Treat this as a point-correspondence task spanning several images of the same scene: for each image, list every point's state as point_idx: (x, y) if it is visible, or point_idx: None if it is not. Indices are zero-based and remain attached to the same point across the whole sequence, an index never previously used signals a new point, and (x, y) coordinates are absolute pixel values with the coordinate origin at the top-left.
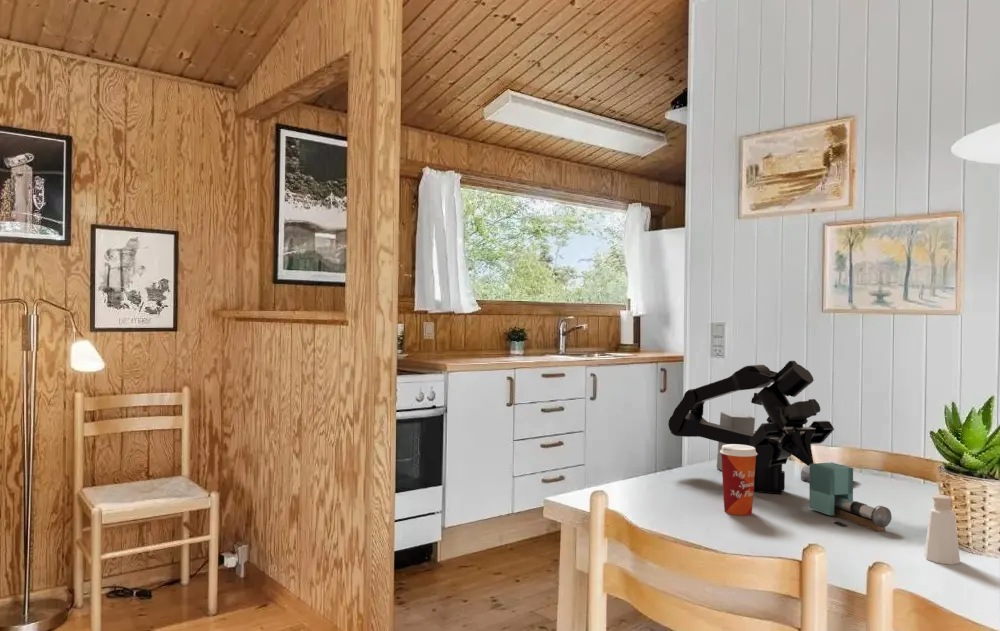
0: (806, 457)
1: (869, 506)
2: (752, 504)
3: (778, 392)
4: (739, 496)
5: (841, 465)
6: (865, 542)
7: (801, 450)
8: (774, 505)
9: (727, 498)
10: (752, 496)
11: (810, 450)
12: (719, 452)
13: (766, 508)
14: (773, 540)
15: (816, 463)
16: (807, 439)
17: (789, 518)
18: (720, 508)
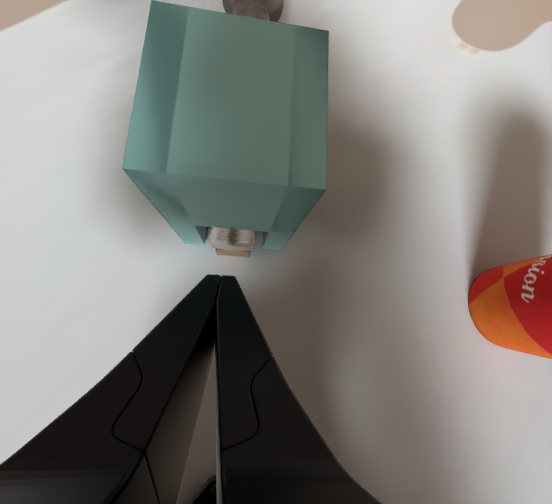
0: (246, 303)
1: (250, 15)
2: (499, 273)
3: None
4: None
5: (153, 76)
6: (358, 5)
7: (271, 354)
8: (351, 337)
9: None
10: (531, 262)
11: (155, 340)
12: None
13: (399, 314)
14: (536, 91)
15: (269, 183)
16: (48, 494)
17: (400, 203)
18: (533, 361)
